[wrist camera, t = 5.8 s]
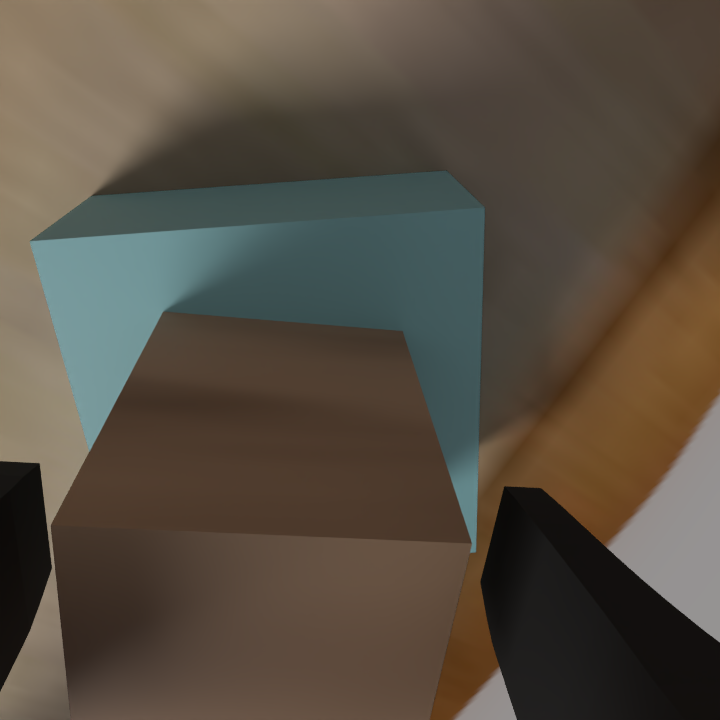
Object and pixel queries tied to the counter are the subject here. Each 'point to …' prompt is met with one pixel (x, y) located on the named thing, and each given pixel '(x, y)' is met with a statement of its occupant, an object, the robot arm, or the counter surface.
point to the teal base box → (279, 282)
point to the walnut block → (261, 532)
